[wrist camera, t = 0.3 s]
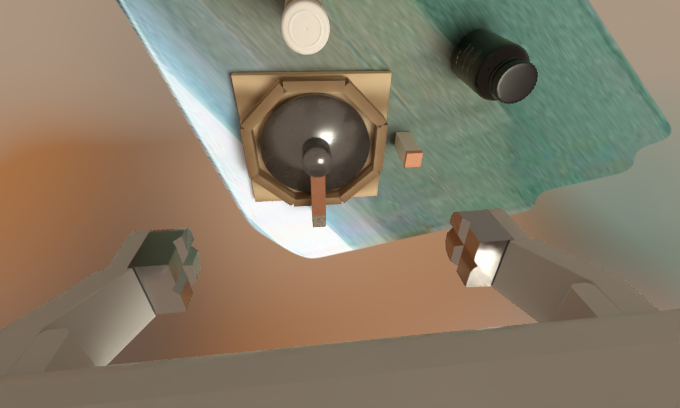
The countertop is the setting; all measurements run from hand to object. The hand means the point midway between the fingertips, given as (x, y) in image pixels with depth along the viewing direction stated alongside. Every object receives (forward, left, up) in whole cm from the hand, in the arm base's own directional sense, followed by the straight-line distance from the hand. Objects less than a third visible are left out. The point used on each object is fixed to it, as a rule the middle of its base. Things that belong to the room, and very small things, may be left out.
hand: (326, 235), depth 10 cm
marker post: (+18, +16, -39) cm, 46 cm away
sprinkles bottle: (-1, 0, -40) cm, 40 cm away
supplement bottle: (+5, +24, -40) cm, 47 cm away
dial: (+20, +1, -38) cm, 43 cm away
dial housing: (+18, +1, -39) cm, 43 cm away
